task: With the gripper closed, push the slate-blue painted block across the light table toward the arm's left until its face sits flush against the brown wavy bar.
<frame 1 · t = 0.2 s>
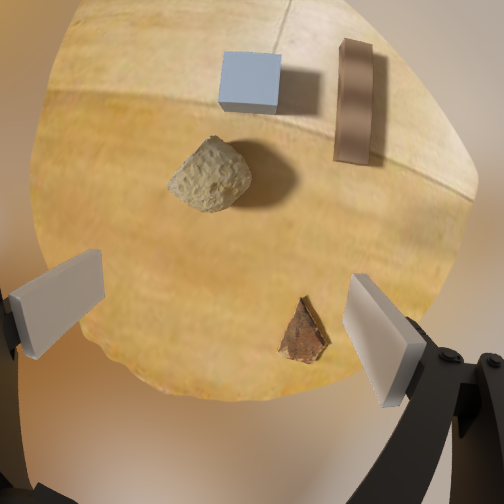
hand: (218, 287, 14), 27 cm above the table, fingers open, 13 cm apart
cut rock: (215, 177, 40), on the table
block: (252, 90, 36), on the table
brown wavy bar: (350, 102, 36), on the table
shard: (294, 332, 46), on the table
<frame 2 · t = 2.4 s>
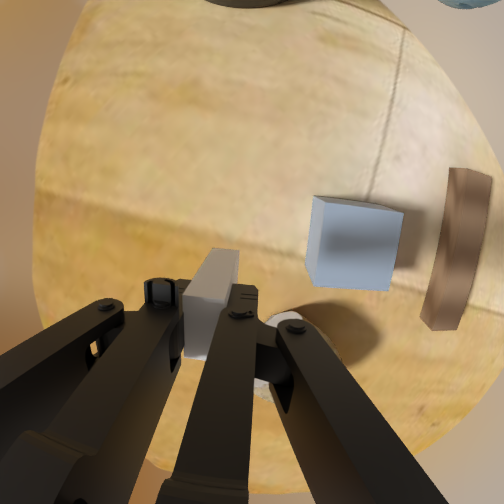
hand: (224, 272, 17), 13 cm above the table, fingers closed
cut rock: (287, 341, 33), on the table
block: (342, 233, 29), on the table
brown wavy bar: (450, 247, 29), on the table
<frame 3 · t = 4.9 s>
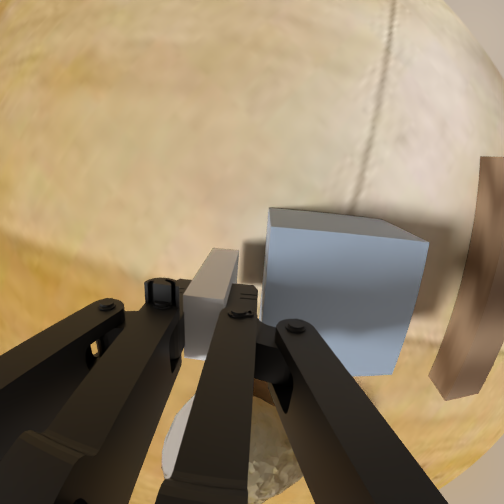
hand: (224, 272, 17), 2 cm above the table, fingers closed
cut rock: (237, 411, 22), on the table
block: (320, 269, 18), on the table, touching gripper
brown wavy bar: (479, 278, 18), on the table
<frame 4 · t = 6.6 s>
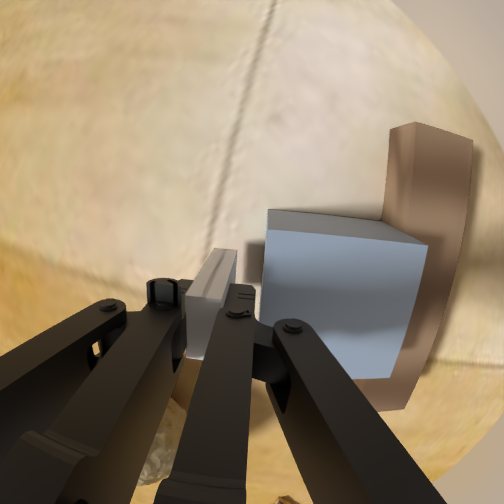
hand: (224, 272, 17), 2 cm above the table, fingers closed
cut rock: (145, 394, 22), on the table
block: (319, 271, 18), on the table, touching brown wavy bar, gripper
brown wavy bar: (399, 273, 18), on the table
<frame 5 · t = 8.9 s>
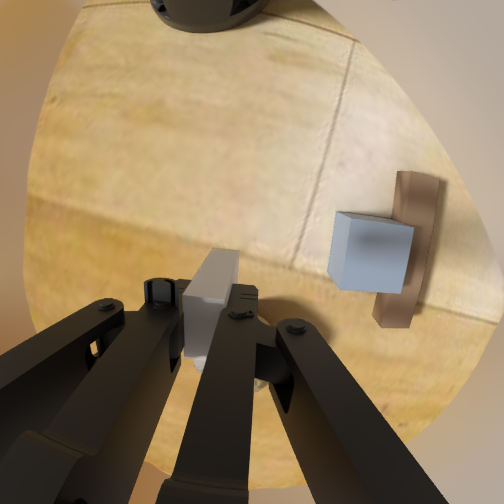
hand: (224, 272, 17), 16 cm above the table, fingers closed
block: (359, 244, 33), on the table
brown wavy bar: (400, 248, 32), on the table
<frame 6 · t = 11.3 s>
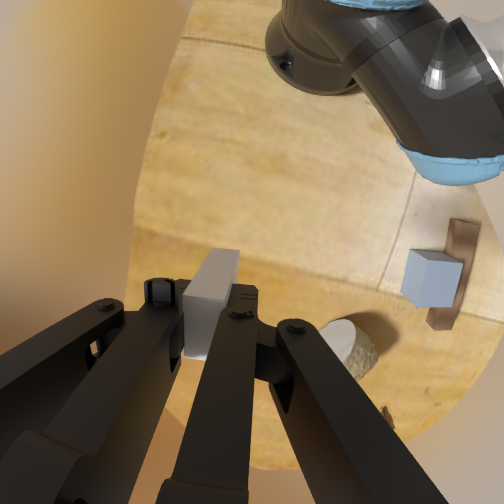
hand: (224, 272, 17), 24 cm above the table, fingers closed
cut rock: (337, 340, 45), on the table
block: (422, 271, 41), on the table
brown wavy bar: (448, 272, 41), on the table
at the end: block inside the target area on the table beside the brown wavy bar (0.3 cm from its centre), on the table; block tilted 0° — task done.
